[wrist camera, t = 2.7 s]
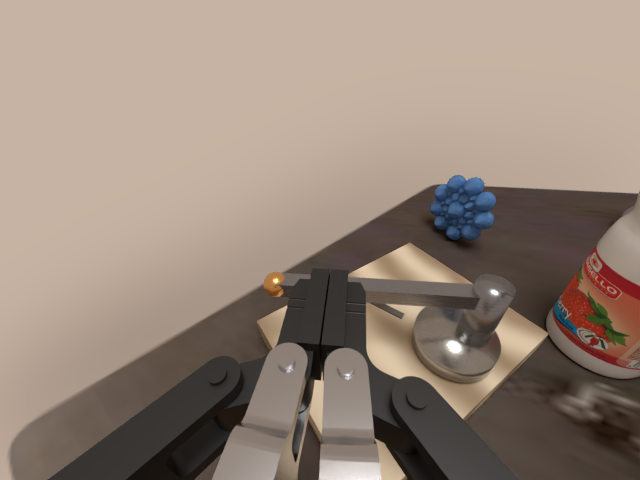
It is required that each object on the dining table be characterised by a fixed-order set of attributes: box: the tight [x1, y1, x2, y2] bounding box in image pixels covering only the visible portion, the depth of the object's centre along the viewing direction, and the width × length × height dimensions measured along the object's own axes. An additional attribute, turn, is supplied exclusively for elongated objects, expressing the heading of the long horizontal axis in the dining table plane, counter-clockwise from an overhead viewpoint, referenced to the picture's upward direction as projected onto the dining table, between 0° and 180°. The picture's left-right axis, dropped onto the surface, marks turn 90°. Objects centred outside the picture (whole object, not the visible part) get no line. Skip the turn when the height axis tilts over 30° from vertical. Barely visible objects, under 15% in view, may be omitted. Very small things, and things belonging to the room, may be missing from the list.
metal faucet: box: [264, 272, 516, 383], centre depth 28 cm, size 23×8×9 cm, turn 83°
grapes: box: [430, 175, 496, 240], centre depth 46 cm, size 12×7×12 cm, turn 26°
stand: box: [257, 243, 549, 480], centre depth 33 cm, size 26×20×3 cm
